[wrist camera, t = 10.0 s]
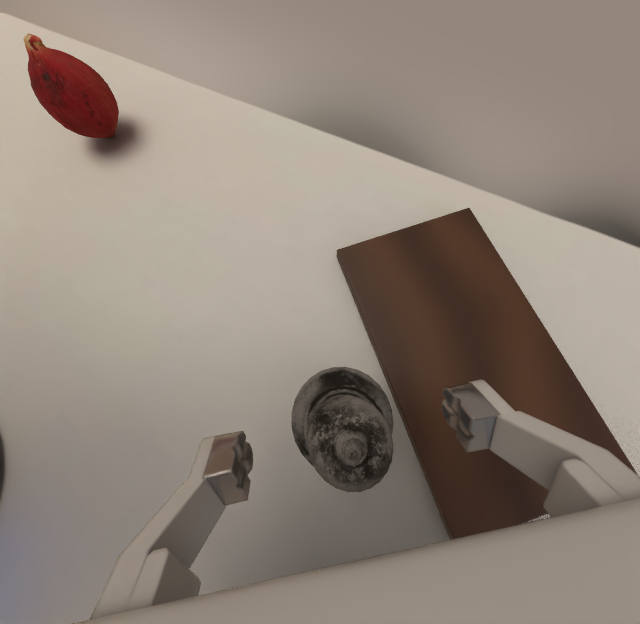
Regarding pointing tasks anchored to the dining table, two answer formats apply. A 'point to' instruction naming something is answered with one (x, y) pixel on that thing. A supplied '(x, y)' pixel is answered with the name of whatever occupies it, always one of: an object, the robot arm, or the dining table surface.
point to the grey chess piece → (344, 428)
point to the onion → (71, 91)
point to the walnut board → (464, 361)
